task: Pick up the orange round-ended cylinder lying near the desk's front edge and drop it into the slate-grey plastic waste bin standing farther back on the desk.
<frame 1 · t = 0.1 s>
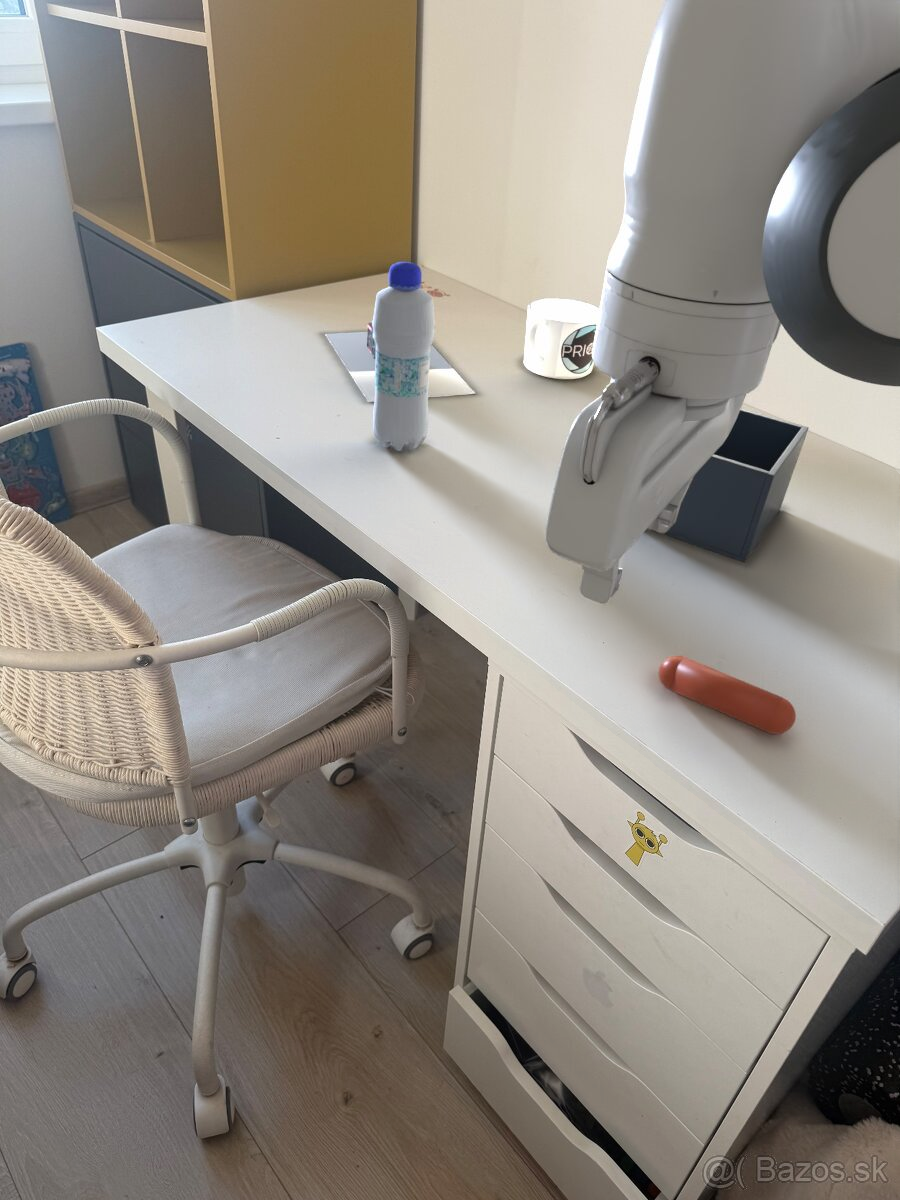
hand: (629, 558, 51), 15 cm above the table, tool pointing down, fingers open, 8 cm apart
bottle: (400, 443, 96), on the table
orange round-ended cylinder: (720, 707, 63), on the table
mug: (551, 370, 118), on the table
bin: (701, 513, 87), on the table
shiny metal sheet: (395, 363, 116), on the table
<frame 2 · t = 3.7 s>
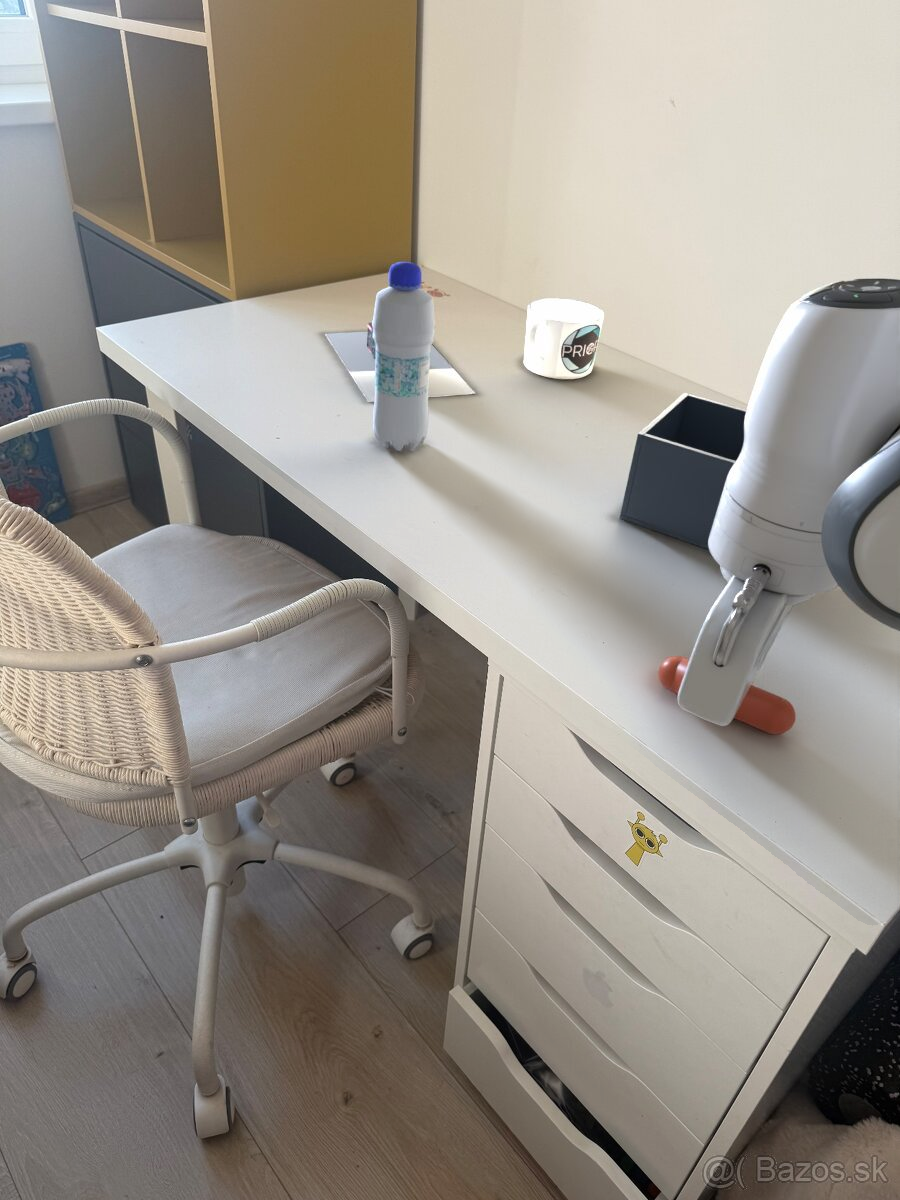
hand: (726, 690, 62), 2 cm above the table, tool pointing down, fingers closed on orange round-ended cylinder, 3 cm apart
orange round-ended cylinder: (720, 707, 63), on the table, touching gripper
everything else where it was.
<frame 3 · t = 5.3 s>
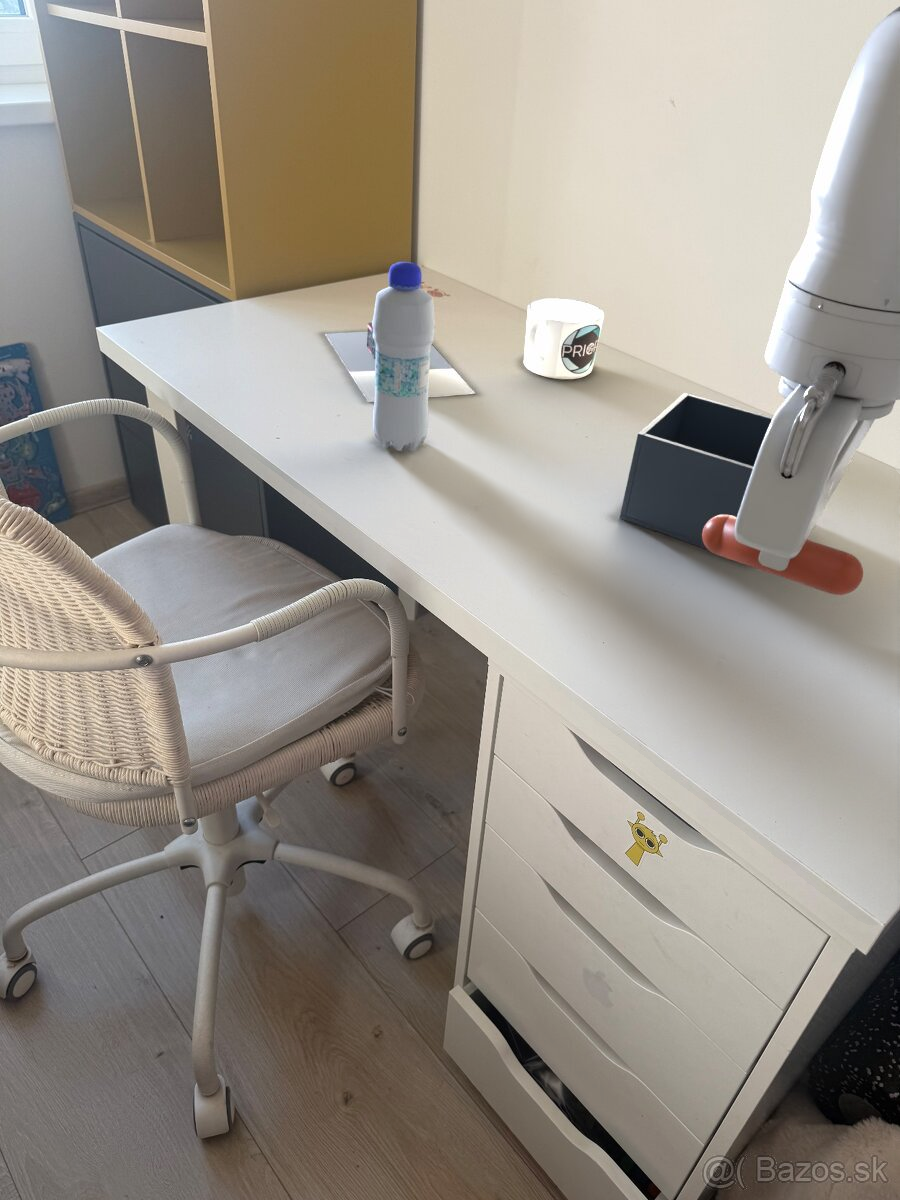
hand: (781, 549, 55), 15 cm above the table, tool pointing down, fingers closed on orange round-ended cylinder, 3 cm apart
orange round-ended cylinder: (773, 571, 56), point 13 cm above the table, touching gripper
everything else where it was.
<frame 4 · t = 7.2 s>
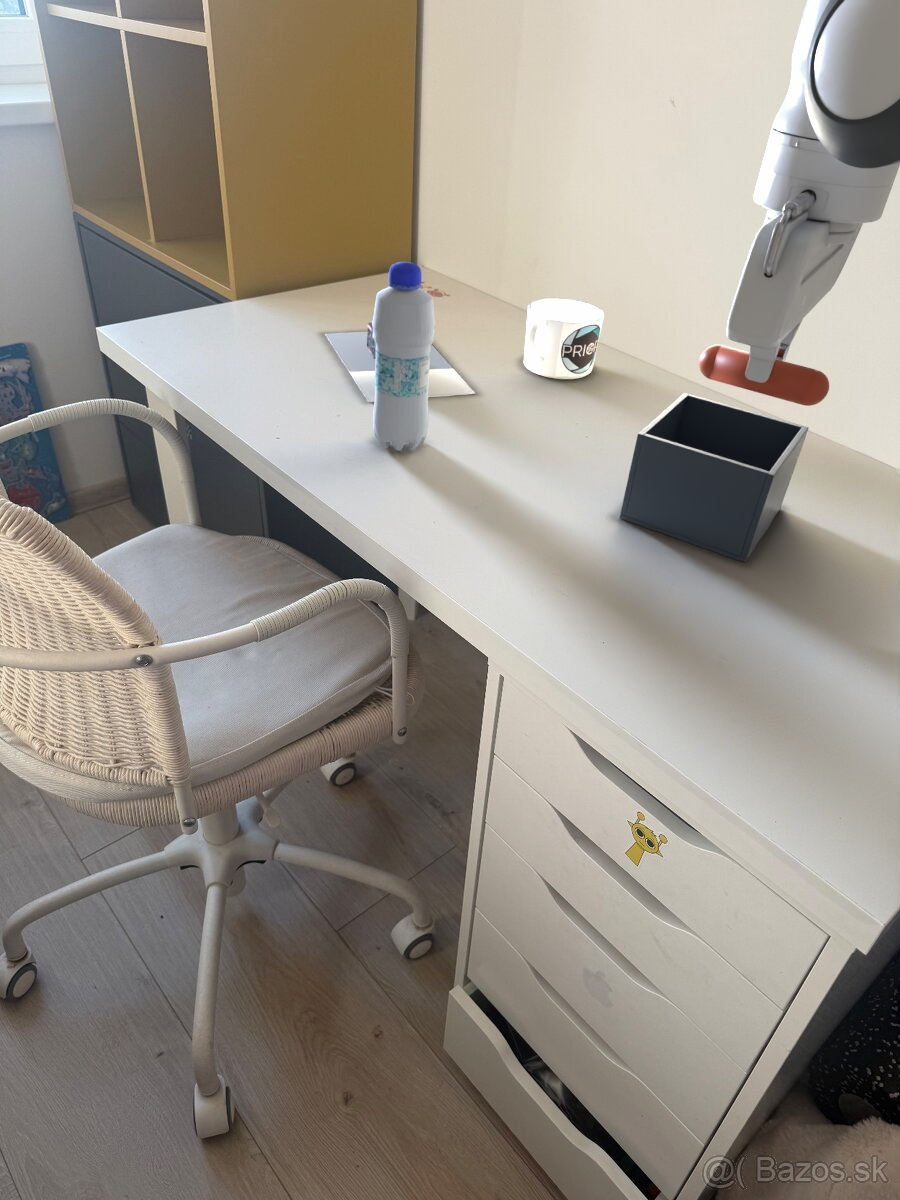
hand: (764, 371, 67), 20 cm above the table, tool pointing down, fingers closed on orange round-ended cylinder, 3 cm apart
orange round-ended cylinder: (757, 391, 68), point 18 cm above the table, touching gripper
everything else where it was.
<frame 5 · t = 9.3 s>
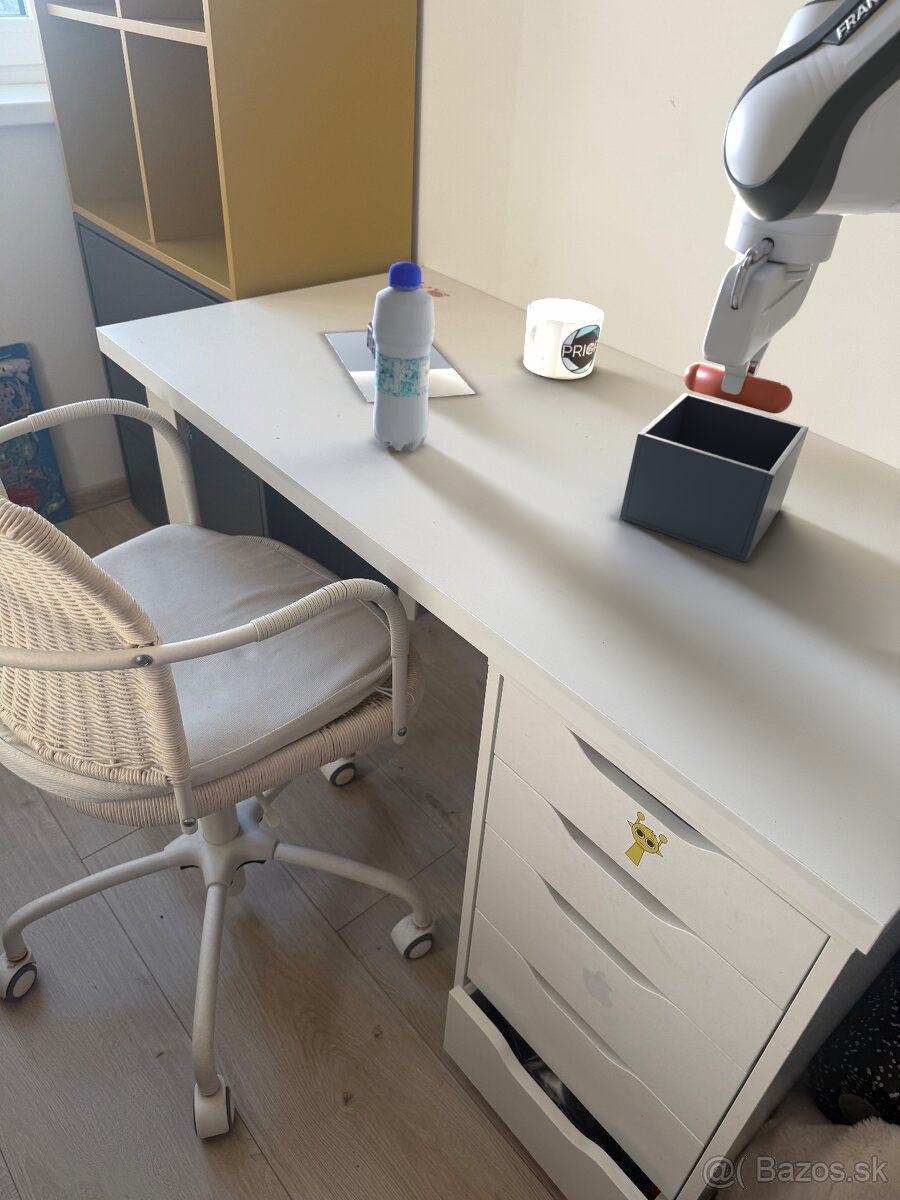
hand: (738, 384, 79), 14 cm above the table, tool pointing down, fingers closed on orange round-ended cylinder, 3 cm apart
orange round-ended cylinder: (732, 401, 80), point 13 cm above the table, touching gripper
everything else where it was.
when the fingers open (10 cm above the table, at t = 10.8 s): orange round-ended cylinder drops 8 cm, resting on bin.
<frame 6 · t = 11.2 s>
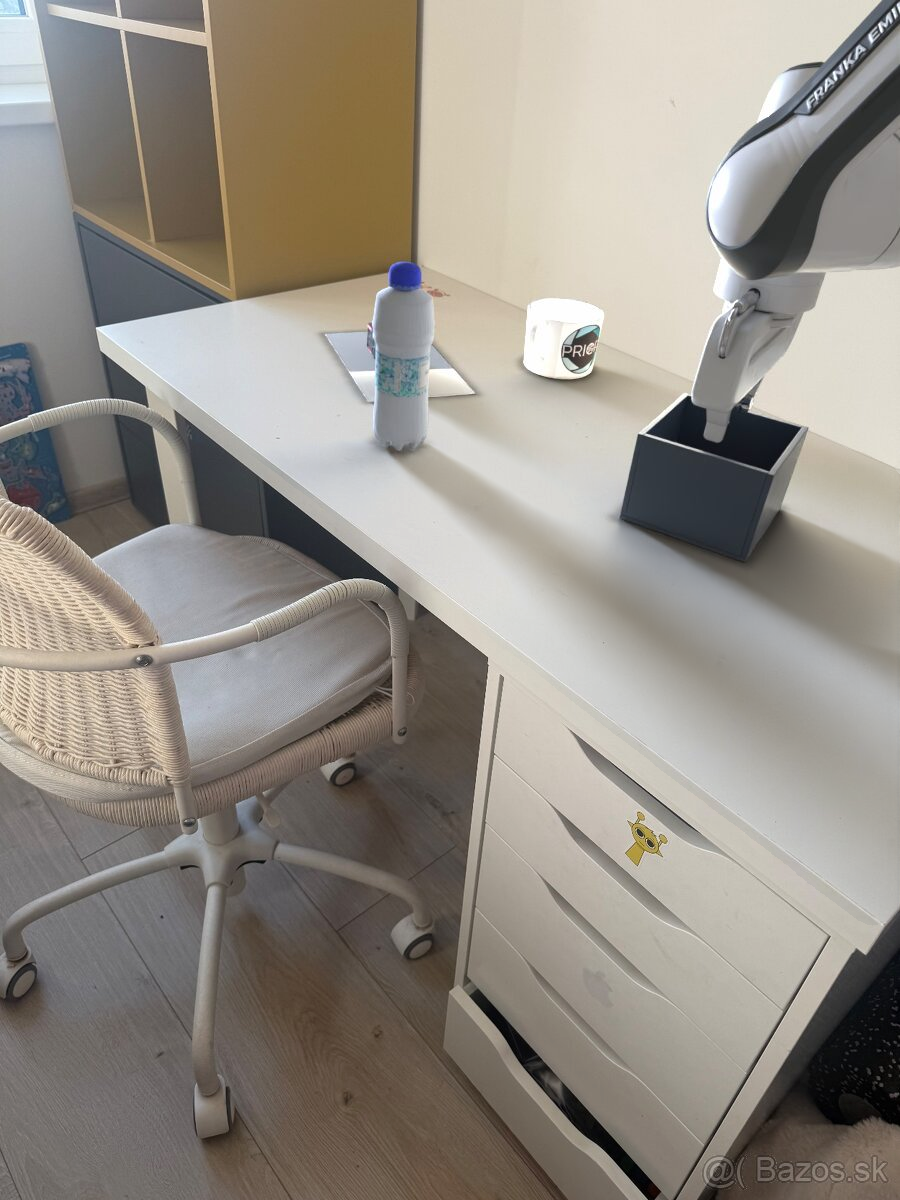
hand: (727, 424, 81), 10 cm above the table, tool pointing down, fingers open, 7 cm apart
orange round-ended cylinder: (702, 509, 87), point 1 cm above the table, touching bin
everything else where it was.
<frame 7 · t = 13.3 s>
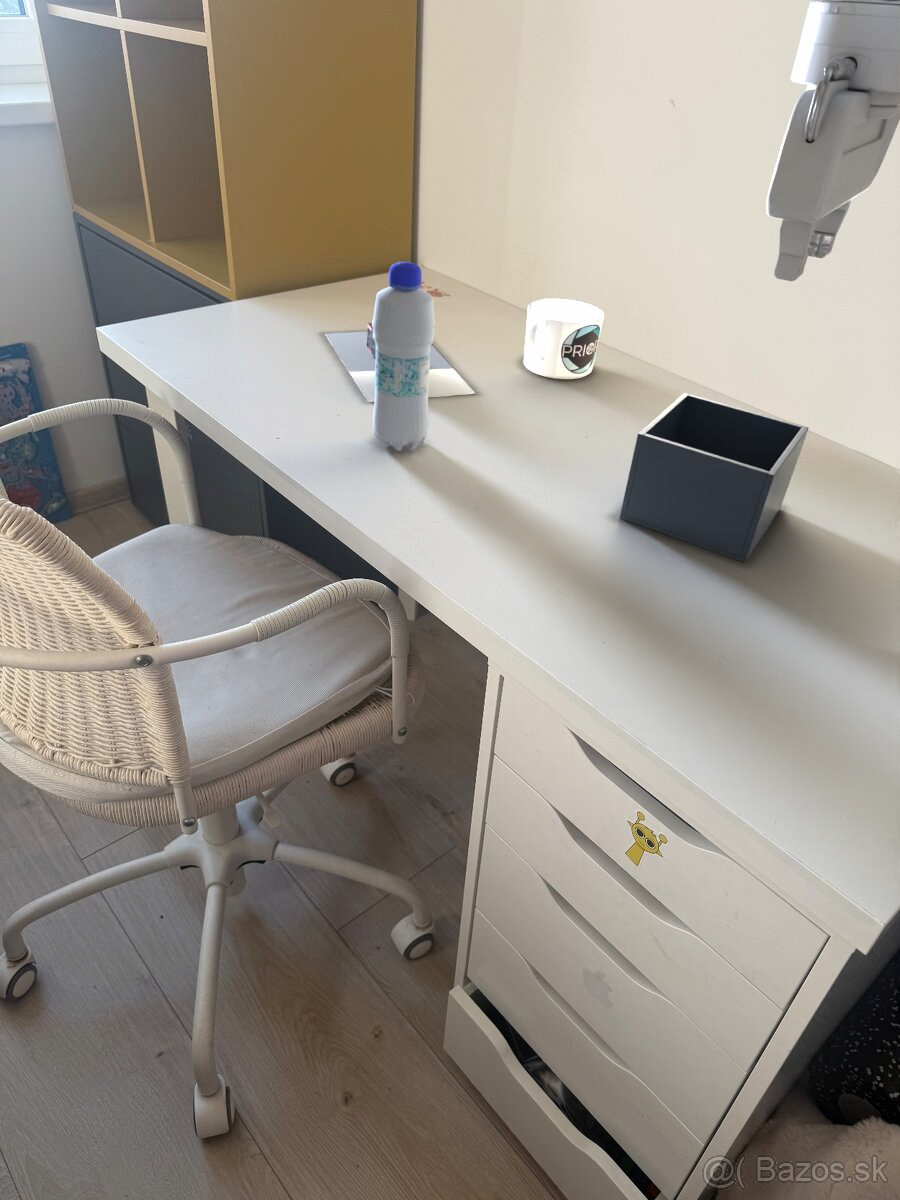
hand: (802, 266, 65), 27 cm above the table, tool pointing down, fingers open, 8 cm apart
orange round-ended cylinder: (702, 509, 87), point 1 cm above the table, tilted 11°, touching bin
everything else where it was.
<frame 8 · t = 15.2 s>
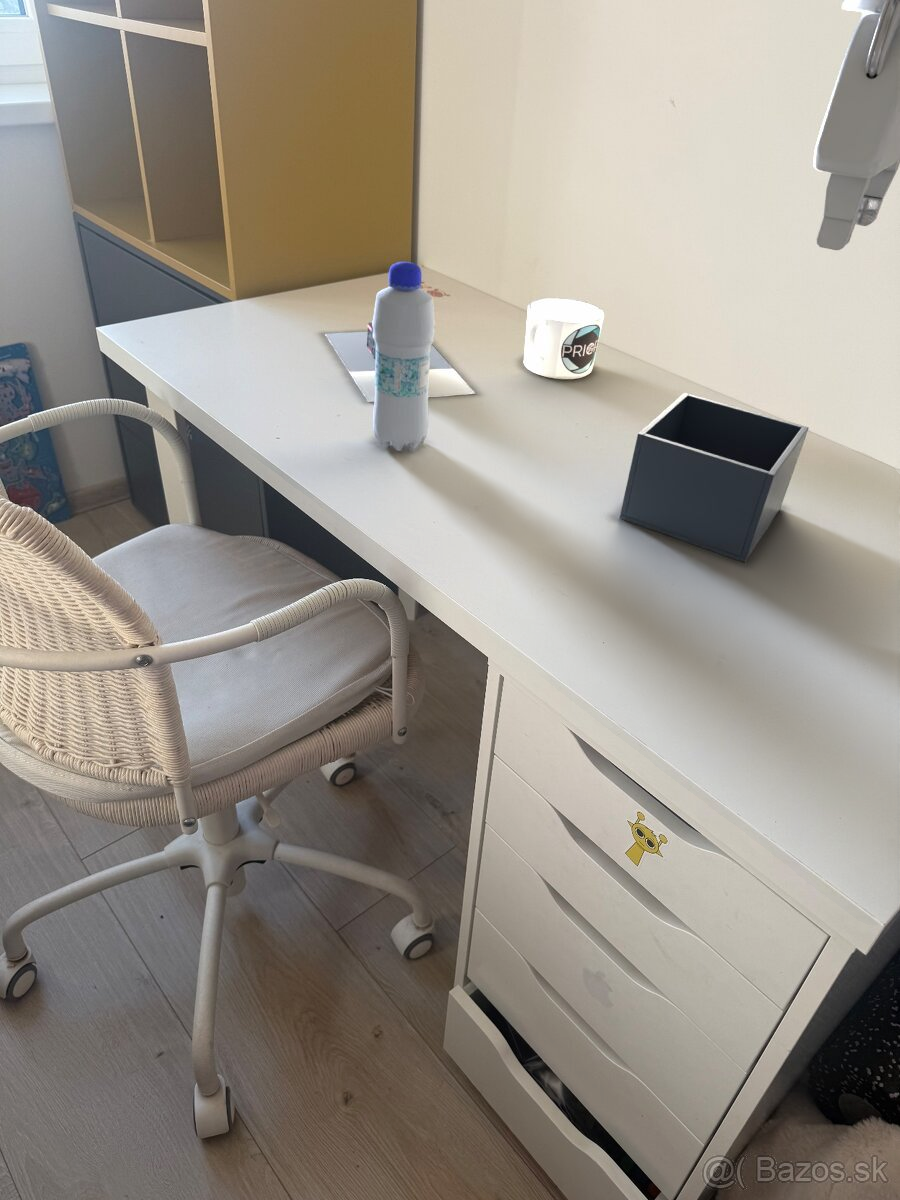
hand: (846, 234, 56), 31 cm above the table, tool pointing down, fingers open, 8 cm apart
orange round-ended cylinder: (702, 508, 87), point 1 cm above the table, tilted 20°, touching bin
everything else where it was.
at the end: orange round-ended cylinder inside the target area in the bin (0.0 cm from its centre), point 0.6 cm above the bin's base; the gripper is holding nothing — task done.
